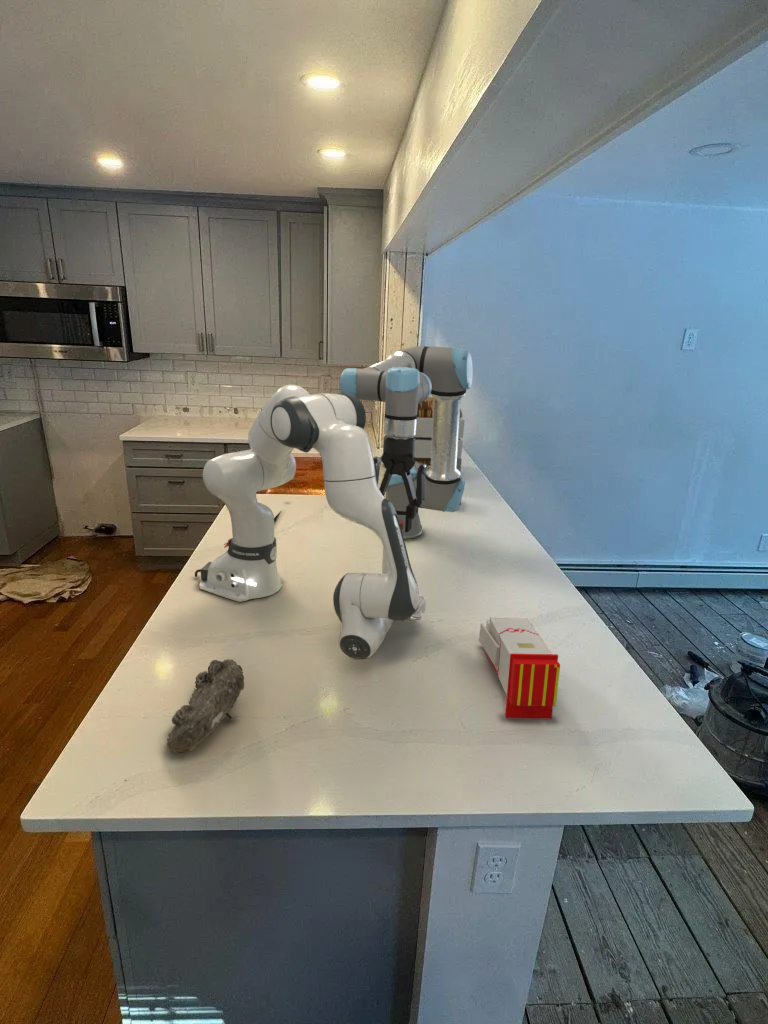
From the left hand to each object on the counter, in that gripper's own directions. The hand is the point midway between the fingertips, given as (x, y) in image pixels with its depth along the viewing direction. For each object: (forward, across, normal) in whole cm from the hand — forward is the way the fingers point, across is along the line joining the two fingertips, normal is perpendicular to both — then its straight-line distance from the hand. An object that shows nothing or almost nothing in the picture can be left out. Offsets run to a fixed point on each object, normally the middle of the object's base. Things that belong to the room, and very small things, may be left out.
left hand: (392, 587), depth 147 cm
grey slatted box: (+132, +23, +7) cm, 135 cm away
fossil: (-51, +21, +7) cm, 56 cm away
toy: (-18, -33, +7) cm, 38 cm away
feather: (+54, +59, +7) cm, 80 cm away
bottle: (-1, 0, +7) cm, 7 cm away
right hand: (-1, 0, -17) cm, 17 cm away
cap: (-1, 0, -18) cm, 18 cm away
